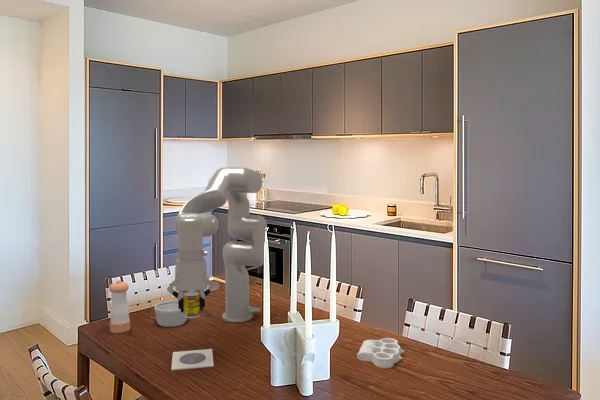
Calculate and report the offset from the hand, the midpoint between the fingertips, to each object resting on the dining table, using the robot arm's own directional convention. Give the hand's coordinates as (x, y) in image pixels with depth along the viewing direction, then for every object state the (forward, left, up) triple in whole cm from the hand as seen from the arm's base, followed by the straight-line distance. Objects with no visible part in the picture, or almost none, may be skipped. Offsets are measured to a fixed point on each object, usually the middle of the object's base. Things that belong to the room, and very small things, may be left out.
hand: (191, 309), depth 155 cm
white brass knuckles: (-62, +10, -18) cm, 65 cm away
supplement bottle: (0, 0, -2) cm, 2 cm away
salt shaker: (+27, -33, -17) cm, 46 cm away
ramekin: (+8, -37, -17) cm, 41 cm away
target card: (0, 0, -17) cm, 17 cm away
